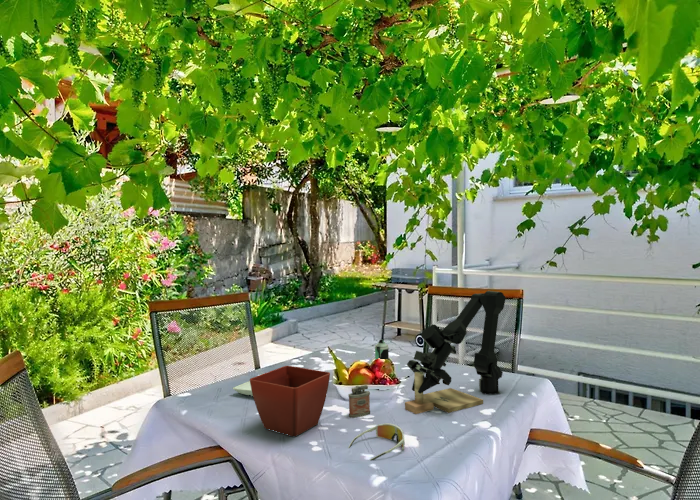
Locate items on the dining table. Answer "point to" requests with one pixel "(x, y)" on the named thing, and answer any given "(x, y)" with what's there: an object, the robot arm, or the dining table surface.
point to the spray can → (381, 350)
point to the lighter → (359, 402)
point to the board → (452, 400)
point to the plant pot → (290, 398)
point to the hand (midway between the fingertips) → (415, 391)
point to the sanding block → (418, 398)
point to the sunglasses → (386, 435)
